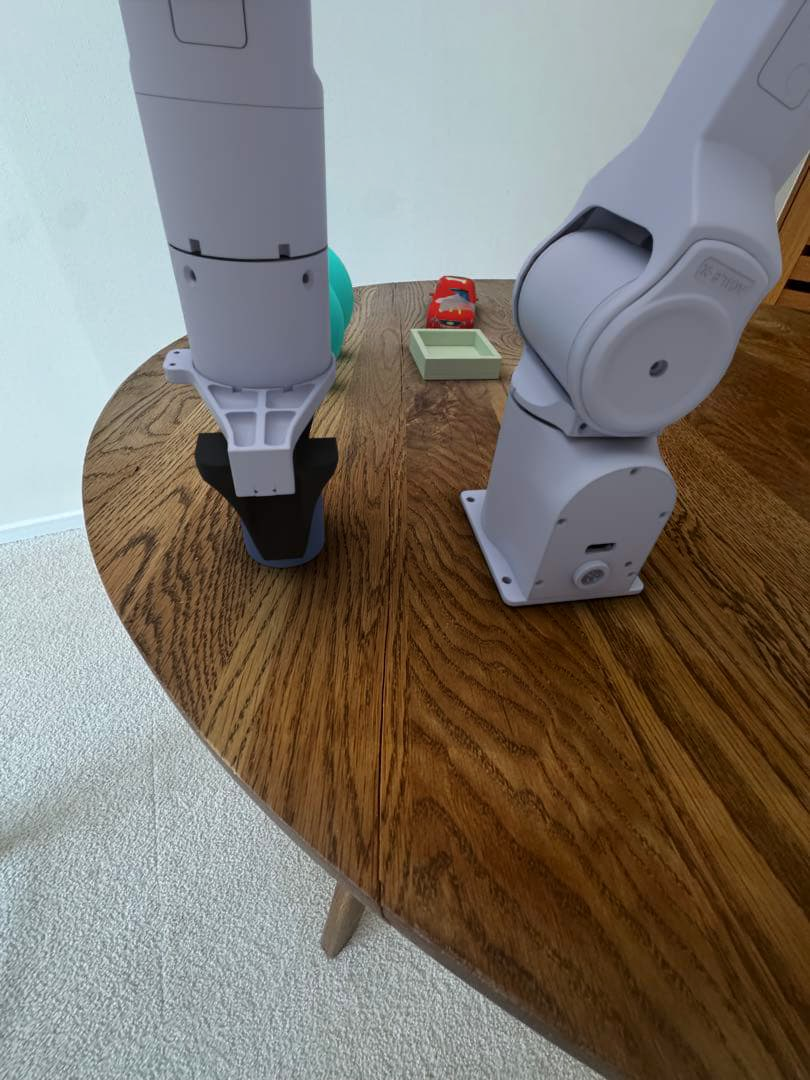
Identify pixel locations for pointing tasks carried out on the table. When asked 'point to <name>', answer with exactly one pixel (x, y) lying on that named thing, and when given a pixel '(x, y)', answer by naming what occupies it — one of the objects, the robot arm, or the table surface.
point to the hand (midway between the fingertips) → (283, 521)
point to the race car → (452, 304)
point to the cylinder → (312, 548)
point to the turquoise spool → (339, 301)
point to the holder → (454, 354)
